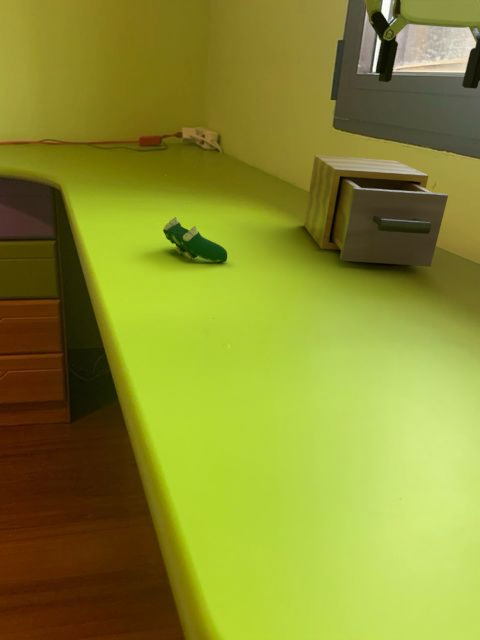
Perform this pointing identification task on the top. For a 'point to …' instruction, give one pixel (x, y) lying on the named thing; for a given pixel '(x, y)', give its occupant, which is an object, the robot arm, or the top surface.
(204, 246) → the green shoe
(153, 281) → the top surface
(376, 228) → the drawer
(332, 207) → the cabinet
